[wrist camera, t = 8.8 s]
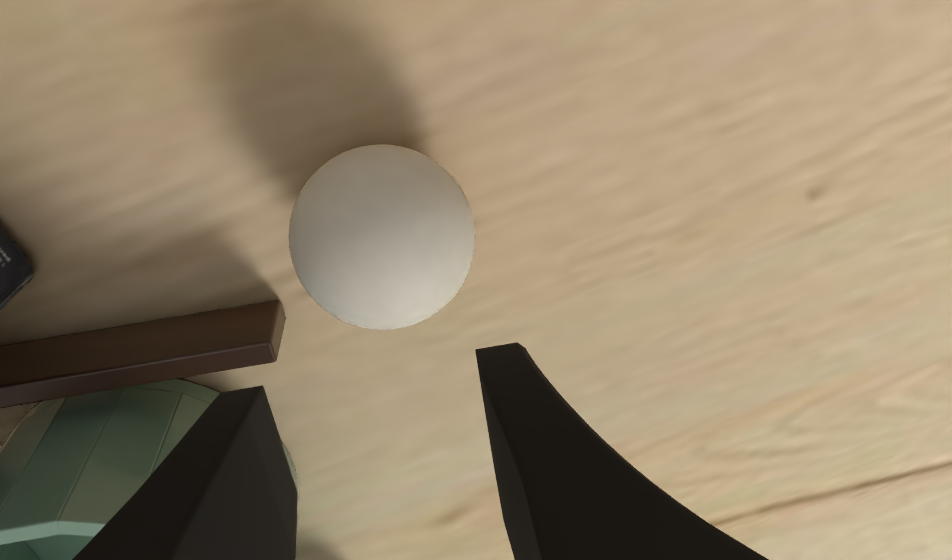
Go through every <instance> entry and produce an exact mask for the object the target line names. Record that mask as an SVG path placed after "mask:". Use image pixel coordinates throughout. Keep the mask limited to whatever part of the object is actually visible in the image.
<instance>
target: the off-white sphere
mask: <svg viewBox="0 0 952 560" xmlns="http://www.w3.org/2000/svg"><path fill="white" fill-rule="evenodd" d="M289 248H290V253H291V258H292V263H293V266H294V268H295V271H296V274H297V276H298V278H299V280H300V281H301V283H302V285H303V287H304V288H305V289H306V291H307V292H308V294H309V295H310V296H311V297H312V298H313V300H314V301H315V302H316V303H317V304H318V305H320V306H321V307H322V308H323V309H324V310H326V311H327V312H328V313H330V314H331V315H333V316H335V317H336V318H338V319H340V320H342V321H344V322H346V323H349V324H351V325H354V326H358V327H362V328H366V329H375V330H390V329H399V328H403V327H408V326H411V325H414V324H417V323H419V322H421V321H423V320H425V319H427V318H429V317H431V316H432V315H434V314H435V313H437V312H438V311H439V310H441V309H442V308H443V307H444V306H445V305H447V304H448V303H449V301H450V300H451V299H452V298H453V297H454V296H455V295H456V293H457V292H458V290H459V289H460V288H461V286H462V284H463V282H464V281H465V279H466V277H467V275H468V272H469V270H470V267H471V264H472V259H473V255H474V250H475V227H474V220H473V215H472V211H471V209H470V206H469V203H468V201H467V198H466V196H465V195H464V193H463V191H462V189H461V187H460V186H459V185H458V183H457V182H456V181H455V179H454V178H453V177H452V176H451V175H450V174H449V173H448V172H447V171H446V170H445V169H444V168H443V167H442V166H441V165H439V164H438V163H437V162H436V161H434V160H433V159H431V158H429V157H428V156H426V155H424V154H422V153H420V152H417V151H415V150H412V149H409V148H405V147H401V146H395V145H381V144H377V145H367V146H362V147H358V148H354V149H351V150H348V151H346V152H343V153H341V154H339V155H337V156H335V157H333V158H332V159H330V160H329V161H328V162H326V163H325V164H323V165H322V166H321V167H320V168H319V169H318V170H317V171H316V172H315V173H314V174H313V175H312V176H311V177H310V178H309V180H308V181H307V182H306V183H305V185H304V187H303V188H302V190H301V192H300V193H299V195H298V198H297V200H296V202H295V205H294V207H293V210H292V214H291V219H290V227H289Z"/></svg>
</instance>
